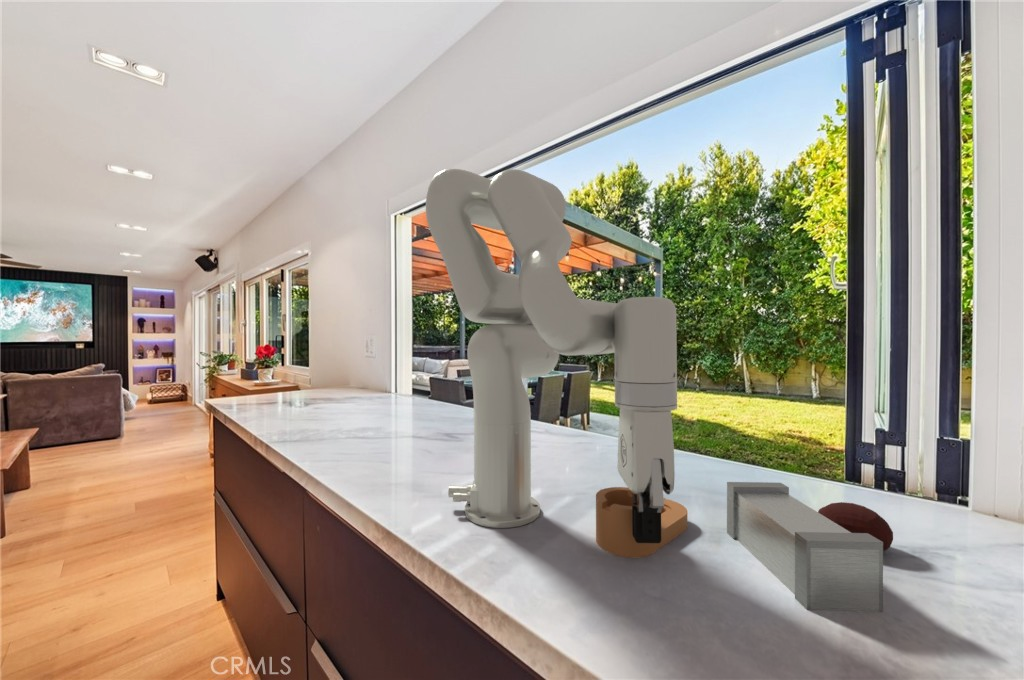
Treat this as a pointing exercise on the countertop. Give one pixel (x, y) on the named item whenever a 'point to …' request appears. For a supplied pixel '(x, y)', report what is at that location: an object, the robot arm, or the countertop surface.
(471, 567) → the countertop surface
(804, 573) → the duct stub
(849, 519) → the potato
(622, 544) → the bracket
